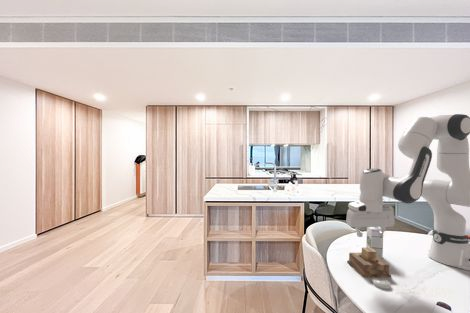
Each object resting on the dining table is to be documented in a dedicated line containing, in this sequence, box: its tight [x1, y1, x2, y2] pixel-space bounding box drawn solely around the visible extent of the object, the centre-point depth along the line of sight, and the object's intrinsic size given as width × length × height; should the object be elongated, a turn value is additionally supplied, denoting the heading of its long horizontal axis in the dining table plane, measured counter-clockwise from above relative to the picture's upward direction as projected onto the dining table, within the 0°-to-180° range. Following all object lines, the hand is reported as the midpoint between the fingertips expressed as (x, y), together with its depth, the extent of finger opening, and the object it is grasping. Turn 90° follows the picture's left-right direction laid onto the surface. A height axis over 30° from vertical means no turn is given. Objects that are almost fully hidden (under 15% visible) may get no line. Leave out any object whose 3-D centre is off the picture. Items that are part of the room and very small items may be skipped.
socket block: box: [347, 252, 392, 278], centre depth 98 cm, size 12×12×5 cm
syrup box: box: [365, 227, 384, 259], centre depth 112 cm, size 6×6×14 cm
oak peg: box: [361, 247, 377, 262], centre depth 98 cm, size 4×4×8 cm
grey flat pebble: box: [371, 277, 391, 290], centre depth 87 cm, size 6×6×2 cm
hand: (369, 236), depth 98 cm, fingers open, 8 cm apart
